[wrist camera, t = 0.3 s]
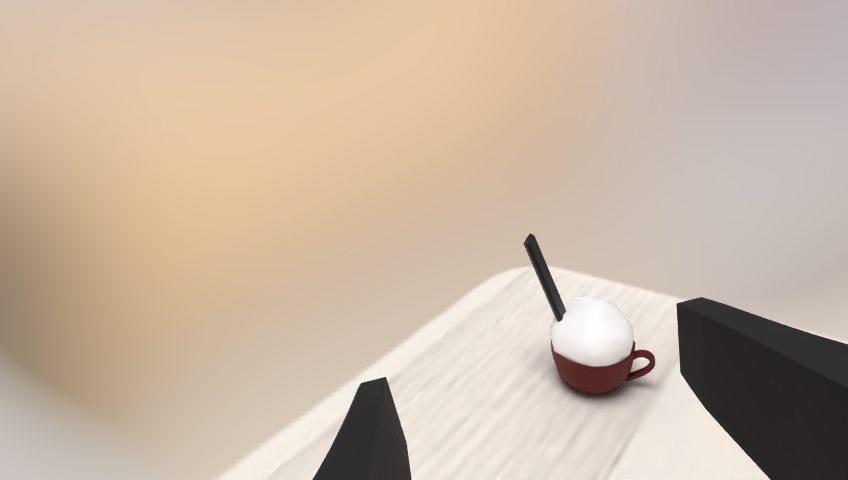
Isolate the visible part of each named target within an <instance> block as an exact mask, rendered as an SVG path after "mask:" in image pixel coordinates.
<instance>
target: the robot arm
mask: <svg viewBox="0 0 848 480" xmlns="http://www.w3.org/2000/svg"><path fill="white" fill-rule="evenodd" d="M677 320H678V337H679V354H680V372H681V374H682V376H683V377H684V379H685V380H686V382H687V383H688V385H689V386H690V388H691V389H692V391H693V392H694V393H695V395H696V396H697V398H698V399H699V400H700V402H701V403H702V404H703V406H704V407H705V408H706V410H707V411H708V412H709V413H710V414H711V415H712V416H713V418H714V419H715V420H716V421H717V422H718V423H719V424H720V425H721V426H722V427H723V429H724V430H725V431H726V432H727V433H728V434H729V435H730V436H731V437H732V438H733V440H734V441H735V442H736V443H737V444H738V445H739V446H740V447H741V448H742V449H743V450H744V451H745V453H746V454H747V455H748V456H749V457H750V458H751V459H752V460H753V461H754V462H755V463H756V464H757V466H758V467H759V468H760V469H761V470H762V471H763V472H764V473H765V474H766V475H767V476H768V477H769V479H770V480H848V344H844V343H841V342H838V341H834V340H831V339H827V338H824V337H820V336H817V335H814V334H811V333H808V332H804V331H801V330H798V329H795V328H792V327H789V326H786V325H783V324H780V323H777V322H774V321H771V320H768V319H766V318H763V317H760V316H757V315H754V314H751V313H748V312H745V311H743V310H740V309H737V308H734V307H731V306H728V305H725V304H722V303H719V302H716V301H713V300H709V299H706V298H702V297H701V298H696V299H692V300H688V301H684V302H680V303H677ZM313 480H411V472H410V465H409V458H408V450H407V443H406V440H405V436H404V433H403V430H402V427H401V424H400V420H399V417H398V414H397V411H396V408H395V404H394V401H393V398H392V395H391V392H390V388H389V385H388V382H387V379H386V377H384V378H380V379H376V380H372V381H368V382H364V383H361V384H360V386H359V388H358V390H357V392H356V394H355V397H354V399H353V402H352V404H351V406H350V409H349V411H348V413H347V415H346V417H345V420H344V422H343V424H342V426H341V428H340V430H339V432H338V434H337V436H336V438H335V440H334V442H333V444H332V446H331V448H330V450H329V452H328V454H327V455H326V457H325V459H324V461H323V462H322V464H321V466H320V468H319V469H318V471H317V473H316V475H315V476H314V478H313Z"/></svg>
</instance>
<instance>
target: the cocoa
mask: <svg viewBox="0 0 848 480" xmlns="http://www.w3.org/2000/svg"><path fill="white" fill-rule="evenodd" d="M524 246H525V248H526V251H527V253H528V255H529V257H530V260H531V262H532V264H533V267H534V269H535V271H536V274H537V276H538V278H539V281H540V283H541V285H542V288H543V290H544V292H545V294H546V297H547V299H548V301H549V304H550V306H551V308H552V311H553V313H554V315H555V318H554V320H553V322H552V324H551V333H550V335H551V349H552V354H553V358H554V361H555V364H556V366H557V369H558V372H559V374H560V377H561V378H562V379H563V380H564V381H566V382H567V383H568V384H569V385H570V386H572V387H573V388H574V389H577V390H580V391H583V392H585V393H597V394H602V393H605V392H609V391H613V390H614V389H616V388H617V387H618V386H620V385H621V384H622V383H623V382H624V381H630V380H633V379H636V378H639V377H641V376H644V375H645V374H647V373H649V372H650V371H651V370H652V369H653V368H654V366H655V358H654V355H653V354H652V353H651V352H649V351H647V350H637V351H635V342H634V340H633V337H634V336H633V327H632V326H631V324H630V323H629V321H628V320H627V318H626V317H625V315H624V314H623V312H622V311H621V310H620V308H619V307H618V306H617V305H616V304H613V303H611V302H609V301H605V300H600V299H595V298H589V297H584V296H581V297H578V298H576V299H574V300H572V301H571V302H570V303H568V305H567V306H566V307H564V305H563V302H562V300H561V298H560V295H559V293H558V290H557V288H556V286H555V283H554V281H553V279H552V276H551V274H550V272H549V269H548V267H547V265H546V262H545V260H544V258H543V255H542V253H541V251H540V248H539V246H538V243H537V241H536V239H535V237H534V235H532V234H529V236H528V237H527V239H526V240H525V242H524ZM638 357H644V358H647V359H648V360H649V361H650V363H649V364H648V365H647V366H646V367H644V368H642V369H640V370H637V371H634V372H630V370H631V367H632V363H633V360H634V359H636V358H638Z"/></svg>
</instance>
